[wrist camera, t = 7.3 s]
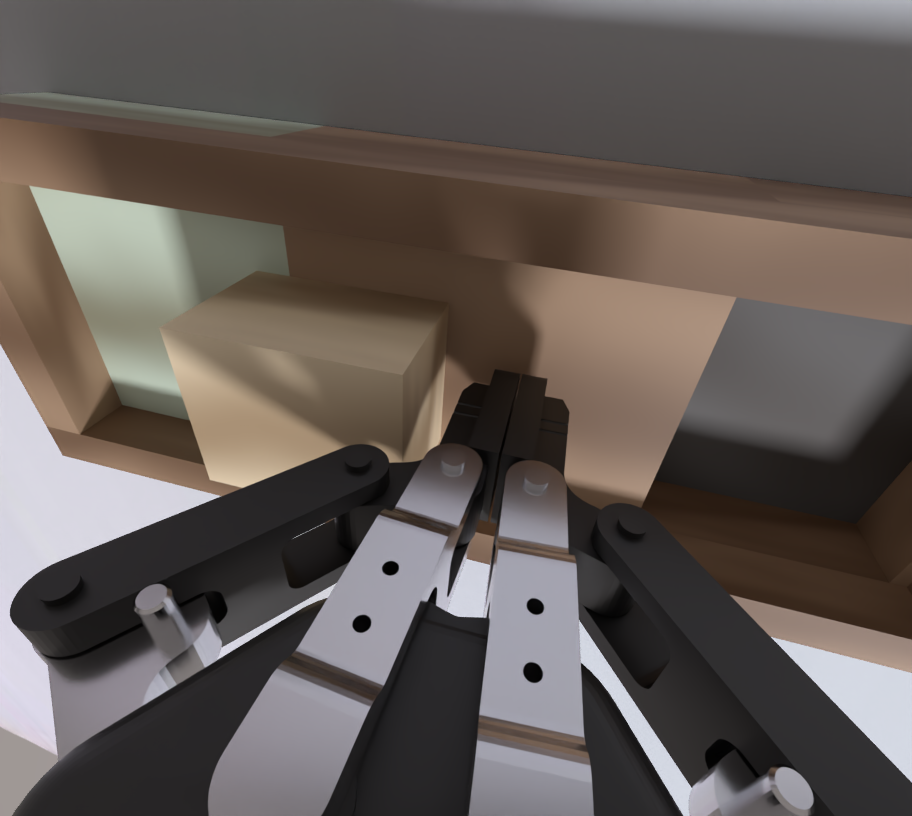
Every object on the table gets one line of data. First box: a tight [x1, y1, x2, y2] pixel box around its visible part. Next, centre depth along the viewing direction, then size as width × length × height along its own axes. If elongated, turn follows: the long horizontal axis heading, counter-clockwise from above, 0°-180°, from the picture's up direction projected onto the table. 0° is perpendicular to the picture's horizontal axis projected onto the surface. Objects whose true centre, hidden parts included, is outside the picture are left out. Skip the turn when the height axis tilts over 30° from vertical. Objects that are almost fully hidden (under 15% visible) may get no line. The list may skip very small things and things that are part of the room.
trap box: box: [0, 92, 912, 673], centre depth 15 cm, size 12×32×5 cm, turn 86°
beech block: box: [159, 271, 449, 488], centre depth 14 cm, size 5×6×4 cm
